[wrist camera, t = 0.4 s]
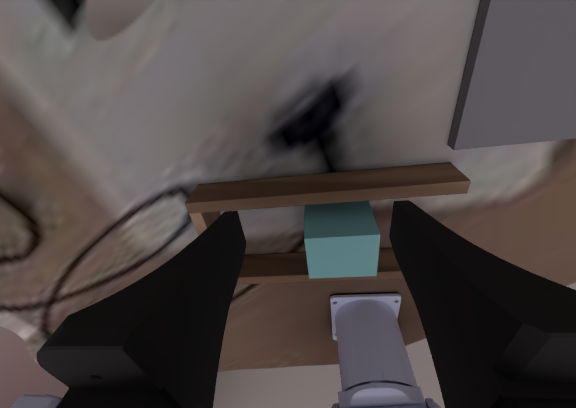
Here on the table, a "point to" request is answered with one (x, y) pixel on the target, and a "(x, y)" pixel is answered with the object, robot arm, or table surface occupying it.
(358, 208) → the block
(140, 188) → the table surface
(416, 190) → the channel
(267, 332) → the table surface
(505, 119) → the pad
